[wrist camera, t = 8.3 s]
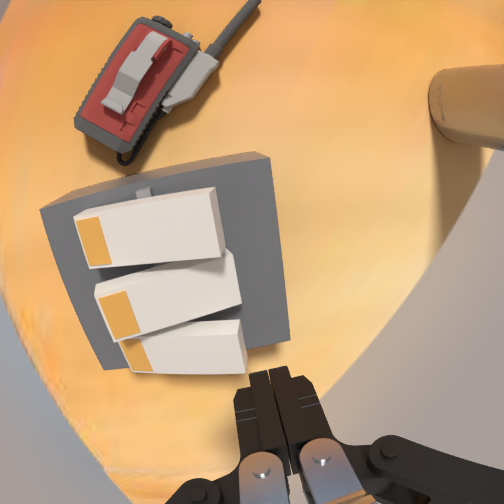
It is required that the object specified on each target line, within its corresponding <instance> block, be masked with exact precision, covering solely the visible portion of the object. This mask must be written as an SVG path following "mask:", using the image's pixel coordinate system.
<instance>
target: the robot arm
mask: <svg viewBox="0 0 504 504" xmlns="http://www.w3.org/2000/svg"><path fill="white" fill-rule="evenodd" d="M429 105H430V111H431V114H432V117H433V120H434V122H435V124H436V126H437V128H438V129H439V131H440V132H441V133H442V134H443V135H444V136H445V137H446V138H448V139H449V140H451V141H454V142H459V143H465V144H470V145H476V146H480V147H485V148H490V149H495V150H500V151H504V64H501V65H483V66H470V67H459V68H450V69H443V70H441V71H439V72H438V73H437V74H436V75H435V77H434V78H433V80H432V82H431V85H430V90H429ZM268 371H269V376H268V372H267V370H264V371H259V372H255V373H250V374H249V380H250V385H251V387H247V388H242V389H237V392H236V395H235V397H234V400H233V401H234V409H235V417H236V424H237V432H238V439H239V447H240V454H241V457H240V461H239V464H238V466H237V467H236V468H235V469H234V470H233V471H232V472H231V473H229V474H228V475H226V476H223V477H221V478H219V479H216V480H214V481H210V480H207V479H203V478H196V479H191V480H189V481H187V482H185V483H184V484H182V485H181V486H180V488H179V489H178V490H177V491H176V492H175V493H174V494H173V495H172V497H171V498H170V499H169V500H168V501H167V502H166V503H165V504H290V500H289V494H290V489H289V484H288V478H287V476H289V475H291V470H290V464H291V469H292V472H293V474H298V473H299V475H300V478H301V482H302V487H303V492H304V495H305V497H306V500H307V502H308V504H377V502H379V503H381V504H504V470H500V469H496V468H493V467H489V466H485V465H481V464H478V463H475V462H472V461H468V460H465V459H462V458H458V457H455V456H452V455H449V454H446V453H443V452H440V451H437V450H435V449H432V448H429V447H426V446H423V445H421V444H418V443H415V442H412V441H410V440H407V439H405V438H402V437H399V436H395V435H387V436H383V437H381V438H379V439H377V440H376V441H375V442H374V443H373V444H372V445H359V446H352V445H346V444H343V443H341V442H340V441H338V440H337V439H336V438H335V437H334V436H333V434H332V432H331V429H330V427H329V424H328V422H327V419H326V417H325V414H324V412H323V409H322V407H321V404H320V402H319V399H318V397H317V395H316V392H315V389H314V387H313V384H312V383H311V382H310V381H309V380H308V379H307V378H306V377H305V376H304V375H302V376H298V377H293V378H291V376H290V373H289V370H288V367H287V366H282V367H278V368H273V369H269V370H268ZM269 377H270V380H269ZM270 382H271V384H270ZM288 457H289V458H288ZM289 461H290V464H289ZM376 501H377V502H376Z"/></svg>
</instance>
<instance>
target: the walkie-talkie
mask: <svg viewBox="0 0 504 504" xmlns="http://www.w3.org/2000/svg"><path fill="white" fill-rule="evenodd" d="M260 3H261V0H248V2H247V3H246V4H245V5H244V6H243V7H242V8H241V10H240V11H239V12H238V13H237V14H236V16H235V17H234V18H233V19H232V20H231V22H230V23H229V24H228V25H227V26H226V28H225V29H224V30H223V31H222V33H221V34H220V35H219V36H218V38H217V39H216V40H215V42H214V43H213V44H210V45H209V46H208V48H207V49H206V50H205V52H204V53H203V52H201V51H199V50H198V48H199V45H200V42H198V41H197V40H195V39H193V40H191V39H192V37H193V35H191V34H190V33H188V32H185V33H184V34H183V35H182V34H180V33H178V32H176V31H174V30H172V29H171V28H172V24H171V22H169V21H168V20H166V19H165V18H163V17H161V16H153V18H152V20H150V19H148V18H145V17H140V18H138V19H136V20H135V22H134V23H133V24H132V26H131V27H130V28H129V30H128V31H127V32H126V34H125V35H124V37H123V38H122V39H121V41H120V42H119V44H118V45H117V47H116V48H115V49H114V51H113V52H112V54H111V55H110V57H109V58H108V61H107V63H105V66H104V68H102V69H101V70H102V71H101V72H100V74H98V77H97V79H95V82H94V84H92V87H91V89H90V90H89V91H88V92H89V93H88V94H87V95H86V96H85V100H84V101H83V102H82V105H81V106H80V107H79V111H78V112H77V113H76V116H75V117H74V125H75V128H76V129H77V130H79V131H81V132H83V133H85V134H86V135H88V136H90V137H92V138H94V139H95V140H97V141H99V142H101V143H103V144H104V145H106V146H108V147H110V148H112V149H113V150H115V151H117V152H118V153H117V162H118V163H119V164H120V165H122V166H127V165H129V164H131V163H132V162H133V161H134V159H135V157H136V156H137V154H138V152H139V150H140V149H141V147H142V145H143V143H144V142H145V140H146V138H147V136H148V135H149V133H150V131H151V130H152V128H153V127H154V125H155V124H156V122H157V121H158V120H159V119H161V118H162V117H163V116H164V115H165V114H166V113H170V111H171V110H172V108H173V107H174V106H177V105H179V104H181V103H184V102H186V101H189V100H191V99H193V98H194V97H195V95H196V94H197V92H198V91H199V90H200V88H201V87H202V85H203V84H204V83H205V81H206V80H207V78H208V77H209V76H210V74H211V73H212V72H214V71H215V70H216V69H217V67H218V66H219V62H218V61H217V60H216V59H217V58H218V57H219V55H220V54H221V53H222V52H223V50H222V49H223V48H224V46H225V45H226V44H227V42H228V41H229V40H230V39H231V37H232V36H233V35H234V34H235V32H236V31H237V30H238V29H239V28H240V26H241V25H242V24H243V23H244V22H245V20H246V19H247V18H248V17H249V16H250V14H251V13H252V12H253V11H254V10H255V9H256V7H257V6H258V5H259V4H260ZM162 105H163V108H162ZM160 108H161V110H162V112H161V113H160V114H159V115H157V113H159V110H160ZM156 115H157V116H156ZM132 150H134V152H133V154H132V155H131V157H130V158H129V160H127V161H123V160H122V158H121V157H122V153H126V152H129V151H132Z"/></svg>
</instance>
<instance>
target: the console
mask: <svg viewBox="0 0 504 504" xmlns="http://www.w3.org/2000/svg"><path fill="white" fill-rule="evenodd" d="M210 187H215V188H216V194H217V200H218V205H219V211H220V217H221V222H222V228H223V233H224V239H225V244H226V246H225V247H226V248H227V249H228V250H229V251H230V252H231V253H232V254H233V258H234V263H235V269H236V274H237V280H238V285H239V291H240V296H241V302H242V304H239V305H236V306H232V307H229V308H226V309H223V310H220V311H217V312H214V313H211V314H208V315H205V316H201V317H198V318H195V319H192V320H189V321H185V322H200V321H220V320H237V319H240V322H241V327H242V332H243V337H244V342H245V347H246V350H247V349H252V348H257V347H262V346H267V345H271V344H276V343H280V342H285V341H289V340H290V329H289V319H288V309H287V299H286V289H285V280H284V271H283V261H282V253H281V244H280V235H279V226H278V218H277V210H276V202H275V194H274V186H273V178H272V170H271V163H270V158H269V157H267V156H265V155H262V154H260V153H257V152H255V151H253V152H247V153H240V154H234V155H228V156H222V157H216V158H211V159H205V160H200V161H195V162H189V163H184V164H179V165H175V166H170V167H165V168H161V169H156V170H152V171H147V172H143V173H139V174H134V175H130V176H126V177H122V178H118V179H114V180H110V181H107V182H103V183H99V184H95V185H92V186H88V187H85V188H81V189H78V190H74V191H71V192H69V193H67V194H66V195H64V196H62V197H60V198H58V199H57V200H55V201H53V202H51V203H50V204H48V205H46V206H44V207H43V208H41V209H39V210H40V213H41V217H42V220H43V224H44V227H45V230H46V234H47V237H48V240H49V243H50V246H51V249H52V252H53V255H54V258H55V261H56V264H57V266H58V269H59V272H60V275H61V277H62V280H63V282H64V285H65V288H66V290H67V293H68V295H69V297H70V300H71V302H72V305H73V307H74V309H75V312H76V314H77V316H78V319H79V321H80V323H81V325H82V327H83V329H84V332H85V334H86V336H87V338H88V340H89V342H90V344H91V346H92V348H93V350H94V352H95V354H96V356H97V358H98V360H99V362H100V364H101V366H102V368H103V369H104V370H112V369H122V368H130V367H129V365H128V362H127V360H126V358H125V356H124V354H123V352H122V350H121V347H120V345H119V343H118V342H114V341H113V339H112V337H111V335H110V333H109V330H108V328H107V326H106V323H105V321H104V319H103V316H102V314H101V311H100V309H99V306H98V304H97V301H96V299H95V296H94V292H95V286H96V284H98V283H102V282H105V281H108V280H112V279H115V278H119V277H122V276H125V275H129V274H132V273H136V272H139V271H143V270H146V269H150V268H153V267H156V266H160V265H163V264H167V263H170V262H161V263H150V264H139V265H128V266H117V267H106V268H95V269H89V266H88V263H87V260H86V257H85V254H84V251H83V248H82V245H81V242H80V238H79V235H78V232H77V228H76V225H75V222H74V218H73V217H74V216H76V215H77V214H79V213H81V212H82V211H84V210H86V209H90V208H95V207H100V206H105V205H110V204H115V203H120V202H125V201H130V200H136V199H141V198H147V197H153V196H159V195H165V194H171V193H177V192H183V191H190V190H196V189H203V188H210ZM172 262H174V261H172Z"/></svg>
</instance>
